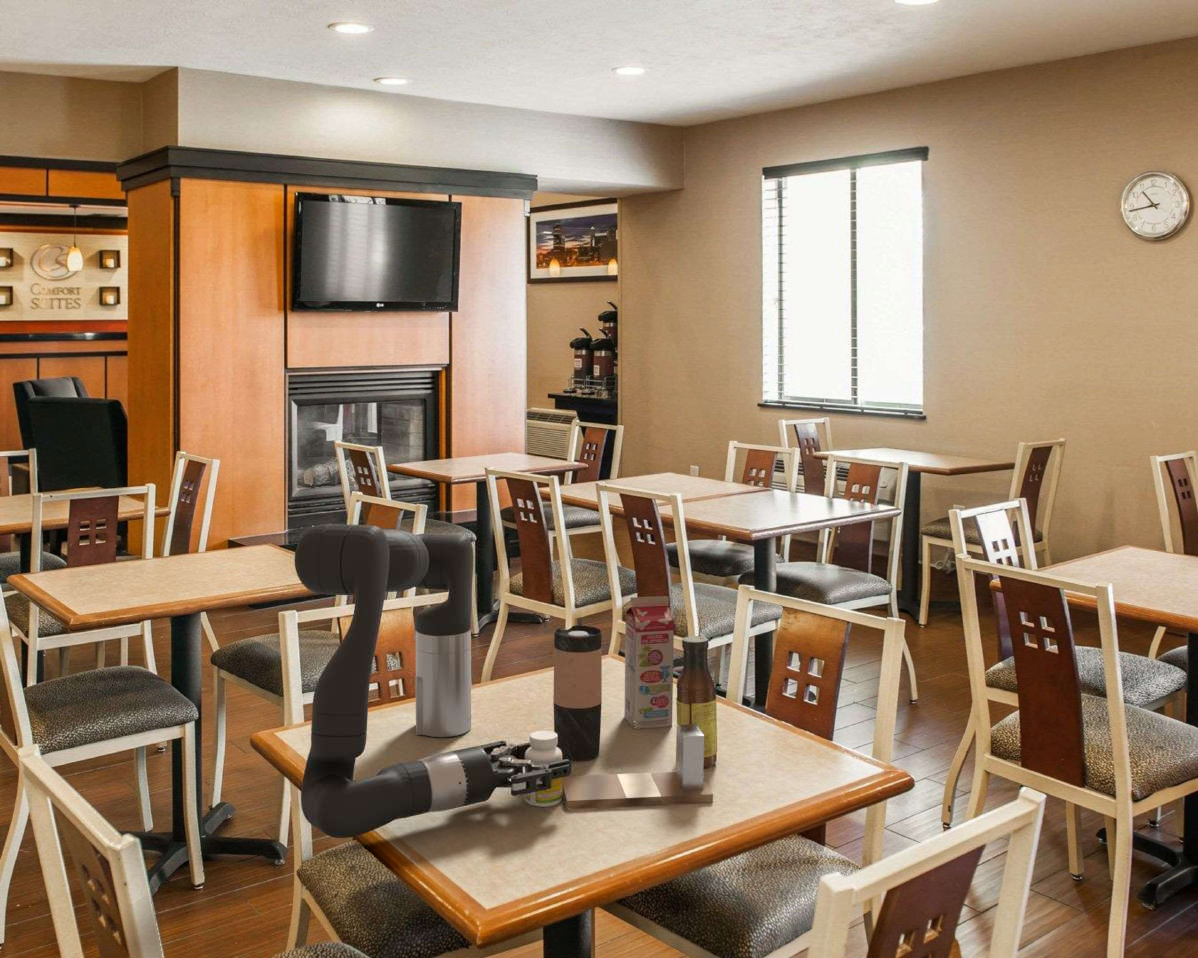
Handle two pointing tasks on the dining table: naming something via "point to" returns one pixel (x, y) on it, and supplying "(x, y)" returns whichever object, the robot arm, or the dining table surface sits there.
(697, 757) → the silver rectangular block
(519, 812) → the dining table surface
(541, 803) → the supplement bottle
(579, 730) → the travel mug
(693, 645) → the sauce bottle
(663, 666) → the juice carton
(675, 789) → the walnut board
